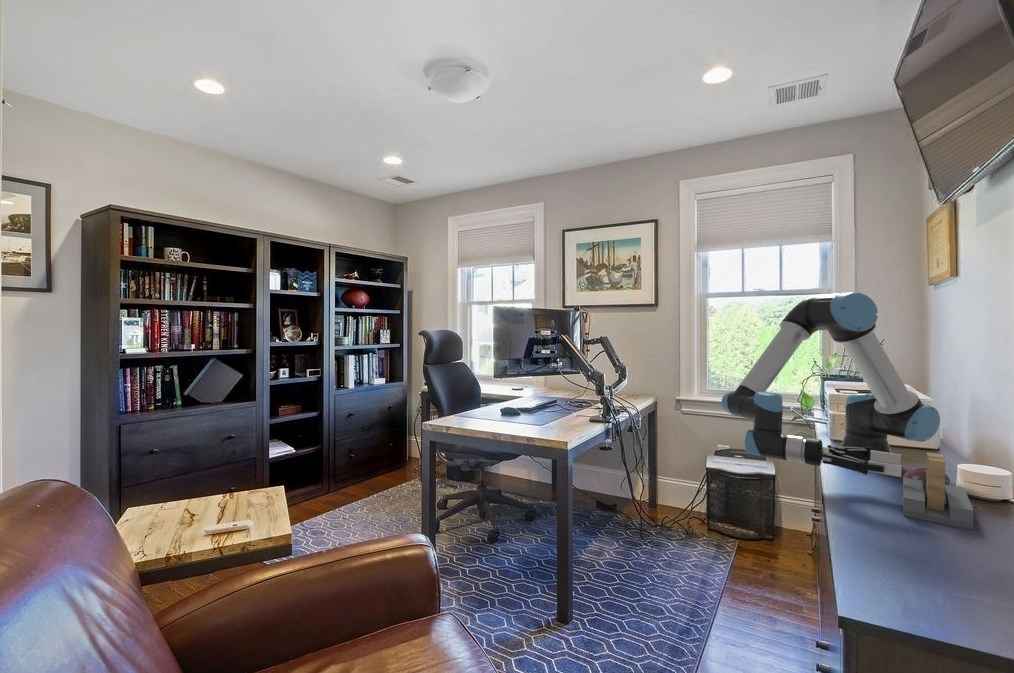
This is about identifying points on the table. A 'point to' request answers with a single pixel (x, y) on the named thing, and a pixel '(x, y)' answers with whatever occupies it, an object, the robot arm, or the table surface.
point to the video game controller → (920, 475)
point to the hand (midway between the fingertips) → (901, 465)
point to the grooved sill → (954, 509)
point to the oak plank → (935, 481)
